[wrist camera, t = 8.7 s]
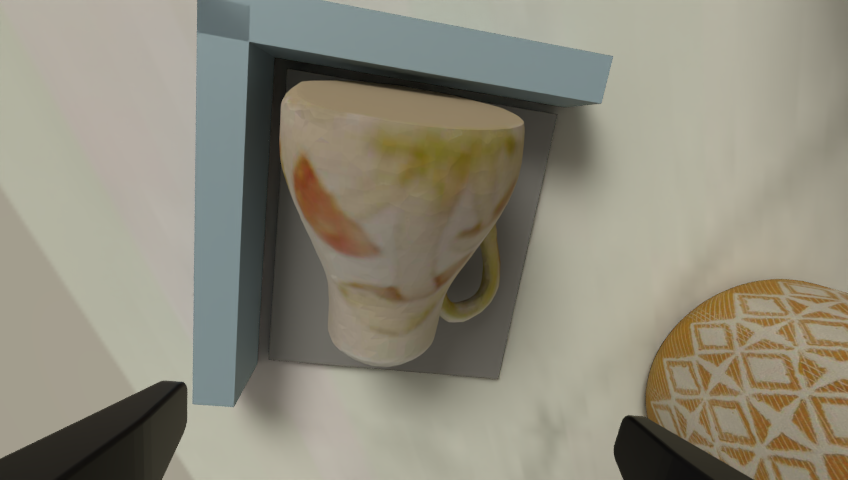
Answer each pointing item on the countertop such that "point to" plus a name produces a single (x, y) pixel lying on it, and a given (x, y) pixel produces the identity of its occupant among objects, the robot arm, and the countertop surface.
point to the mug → (397, 205)
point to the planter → (760, 380)
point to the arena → (251, 123)
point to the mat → (454, 341)
